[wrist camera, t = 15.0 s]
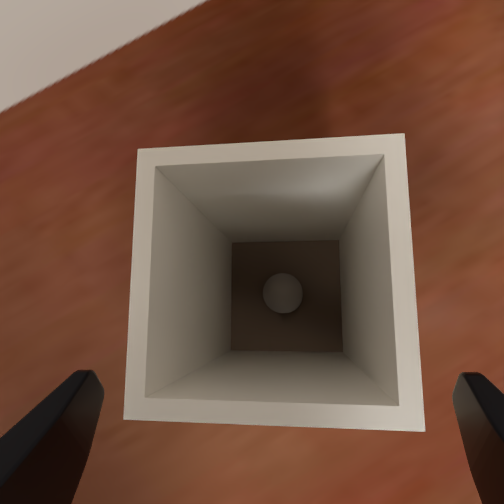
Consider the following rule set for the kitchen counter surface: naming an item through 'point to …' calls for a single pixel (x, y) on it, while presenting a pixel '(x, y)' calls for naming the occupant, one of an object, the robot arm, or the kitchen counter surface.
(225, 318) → the sleeve
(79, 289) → the kitchen counter surface
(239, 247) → the shaft plate
